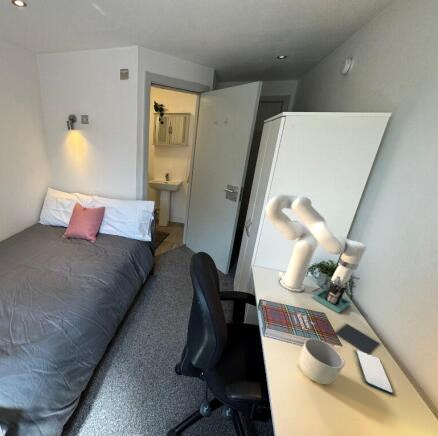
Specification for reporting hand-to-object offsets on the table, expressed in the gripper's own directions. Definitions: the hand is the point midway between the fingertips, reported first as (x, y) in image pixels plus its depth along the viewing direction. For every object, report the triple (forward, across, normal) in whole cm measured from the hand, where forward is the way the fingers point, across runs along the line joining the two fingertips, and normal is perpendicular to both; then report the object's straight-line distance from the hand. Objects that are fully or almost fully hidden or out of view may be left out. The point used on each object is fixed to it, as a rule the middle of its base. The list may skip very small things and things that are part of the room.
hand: (335, 291), depth 126 cm
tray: (+7, 0, 0) cm, 7 cm away
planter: (+8, +54, +17) cm, 57 cm away
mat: (+7, +18, +18) cm, 27 cm away
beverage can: (+7, 0, 0) cm, 7 cm away
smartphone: (+8, +32, +28) cm, 43 cm away
